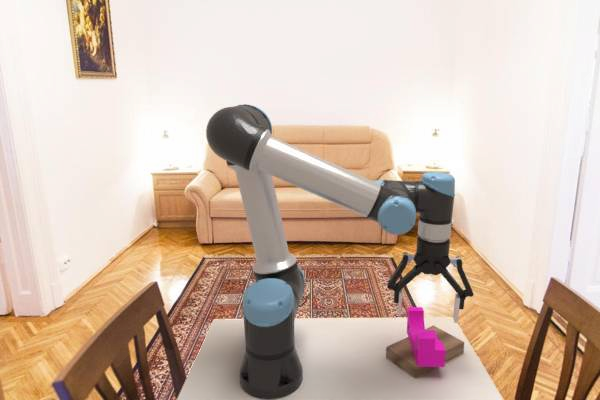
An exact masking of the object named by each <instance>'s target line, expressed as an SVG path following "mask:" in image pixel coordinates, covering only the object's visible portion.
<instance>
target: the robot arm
mask: <svg viewBox="0 0 600 400" xmlns="http://www.w3.org/2000/svg"><path fill="white" fill-rule="evenodd" d="M205 134H206V135H205V136H206V140H207V144H208V146H209V147H210V149H211V151H213V153H214V154H215V155H216V156H218V157H219V158H220V159H223V160H225V162H226V165H227V167H228V168H230V169H231V170H233V171H234V172H235V177H236V180H237V184H238V189H239V193H240V197H241V200H242V206H243V208H244V212H245V218H246V222H247V225H248V229H249V230H248V231H249V235H250V238H251V243H252V246H253V251H254V254H255V259H256V261H255V263H254V264H253V266H252V271H253V276H254V280H255V282H253V283H251V284H249V286H247V287H246V289H245V290H244V293H243V296H242V304H241V305H242V313H243V325H244V327H243V328H244V340H245V341H244V343H245V352H244V356H243V359H242V362H241V365H240V369H239V382H240V386H241V387H242V389H243V390H244V391H245V392H246V393H247V394H249V395H250V396H253V397H255V398H259V399H270V400H271V399H278V398H282V397H285V396H288V395H290V394H291V393H293V392H295V391H296V390H297V389H298V388H299V387H300V385H301V384H302V382H303V373H304V372H303V370H304V369H303V365H302V362H301V359H300V357H299V354H298V353H297V350H296V346H295V345H296V343H295V341H296V340H295V339H296V338H295V320H296V319H295V318H296V315H297V313H298V309H299V306H300V304H301V301H302V298H303V297H304V293H305V290H306V278H305V274H304V272H303V270H302V268H301V267H300V266H299V265H298V260H297V257H296V256H295V255H294V254H292V253H290V251H289V246H288V242H287V238H286V233H285V228H284V224H283V219H282V214H281V209H280V205H279V201H278V196H277V192H276V187H275V184H274V179H273V177H274V178H277V179H279V180H281V181H283V182H285V183H289V184H290V185H293V186H294V187H297V188H300V189H302V190H304V191H305V192H309V193H311V194H312V195H315V196H317V197H319V198H322V199H324V200H326V201H328V202H330V203H333V204H335V205H338V206H341V207H343V208H344V209H347V210H349V211H352V212H353V213H356V214H358V215H361V216H363V217H365V218H367V219H369V220H372V221H373V222H376V223H378V224H379V226H380V227H381V228H382V229H383V230H384V231H385V232H386V233H388V234H390V235H393V236H394V235H395V236H397V235H399V236H400V235H404V234H407V233H408V232H409V231H411V230H412V228H413V227H414V226H415V223H416V219H417V214H418V226H417V235H418V236H417V237H416V248H415V249H416V250H415V251H416V252H415V254H409V253H408V252H407V251H405V252H403V253H402V258H401V261H400V262H399V264H398V265H397V267H396V268H395V270H394V271H393V273H392V274H391V277H390V278H389V279H388V281H387V288H388V290H393V292H394V294H393V302H394V303H395V304H397V317H399V318H402V303H403V289H404V287H406V286H407V285H408V284H409V283H410V282H412V280H414V279H415V278H416V277H417V276H419V275H420V274H421V273H423V274H424V275H433V276H439V275H441V276H442V277H443V278H444V279H445V280H446V281H447V282H448V284H449V285H450V286H451V287H452V289H453V290H454V291H455V292H456V293H455V295H454V306H453V314H452V315H453V316H452V318H453V322H454V323H455V324H458V322H459V314H460V313H459V312H460V310H464V308H465V300H466V299H467V297H472V298H473V297H474V292H473V289H472V286H471V285H470V282H469V280H468V277H467V275H466V273H465V270H464V269H463V260H462V258H461V256H459V255H458V256H456V257H450V256H449V255H450V245H451V244H450V243H451V240H450V238H451V236H452V235H451V234H452V222H453V212H454V211H453V210H454V203H455V196H456V194H455V191H456V188H455V187H456V186H455V185H456V179H455V177H454V176H453V175H452V174H450V173H448V172H441V171H428V172H424V173H423V174H422V176H421V178H420V180H417V181H416V180H414V181H413V180H394V179H393V180H392V179H391V180H389V179H377V180H375V179H373V180H371V179H369V178H367V177H366V176H362V175H360V174H357V173H356V172H353V171H351V170H348V169H347V168H344V167H342V166H340V165H337V164H335V163H333V162H330V161H328V160H326V159H324V158H322V157H319V156H317V155H315V154H312V153H310V152H308V151H306V150H303V149H301V148H299V147H296V146H294V145H292V144H289V143H288V142H286V141H283V140H281V139H278V138H276V137H275V136H274V137H273V126H272V122H271V119H270V117H269V115H268V114H267V113H266V112H265V111H264V110H262V109H261V108H259V107H257V106H255V105H251V104H238V105H233V106H228V107H224V108H220V109H218V110H217V111H216V112H214V114H212V115H211V117H210V118H209V120H208V122H207V125H206V130H205ZM412 261H414V263H415V265H414V266H413V268H412V269H410V270H409V271H408V272H407V273H406V274H405V275H404V276H403V277H401V275H402V274H403V272H404V271H405V269H406V268H407V265H408V264H411V262H412ZM450 264H451V265H452V267H454V268H456V270H457V272H458V276H459V278H460V279H461V282H462V284H463V286H464V288H465V289H463V288H462V287H461V286H460V284H459V283H458V282H457V281H456V279H455V278H454V277H453V275H452V274H451V273H450V272H449V270H448V269H447V268H448V267H449V265H450ZM400 277H401V279H400Z"/></svg>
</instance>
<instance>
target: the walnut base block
mask: <svg viewBox="0 0 600 400" xmlns="http://www.w3.org/2000/svg"><path fill="white" fill-rule="evenodd" d="M425 330H435V332H436V336H437V338H438V340H441V341H442V343H443V345H444V348H445V350H446V352H445V364H446V363H448V362H449V361H451V360H453V359H455V358H456V357H458V356H460V355H462V354H464V348H465V341H463V340H461V339H460V338H457V336H454V335H452V334H450V333H448V332H446V331H444V330H443V329H441V328H439V327H437V326H436V325H431V326H429V327H427V328H425ZM385 359H387V360H388V361H389V362H391V363H392V364H393V365H395V366H397V367H398V368H400V369H401V370H403V371H404V372H405V373H406V374H408V375H409V376H411V377H413V378H414V379H417V378H420V377H422V376H423V375H426V374H427V373H429V372H431V371H432V370H434V369H436V368H437V367H423V366H417V363H416V359H415V356H414V353H413V350H412V347H411V344H410V340H409V337H408V336H407V337H405V338H403V339H400V340H398V341H397V342H394V343H391V344H390V345H388V346H386V348H385Z"/></svg>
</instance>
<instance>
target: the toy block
mask: <svg viewBox="0 0 600 400" xmlns="http://www.w3.org/2000/svg"><path fill="white" fill-rule="evenodd" d="M406 320H407V322H406V334H407V337H409V340H410V344H411V347H412V350H413V353H414V356H415V359H416V363H417V366H423V367H436V368H444V367H445V364H446V363H445V352H446V350H445V348H444V345H443V343H442V341H441V340H438V338H437V336H436V332H435V330H425V329H426V326H425V311H424V308H423V307H422V306H413V307H412V306H408V307H407V318H406Z"/></svg>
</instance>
